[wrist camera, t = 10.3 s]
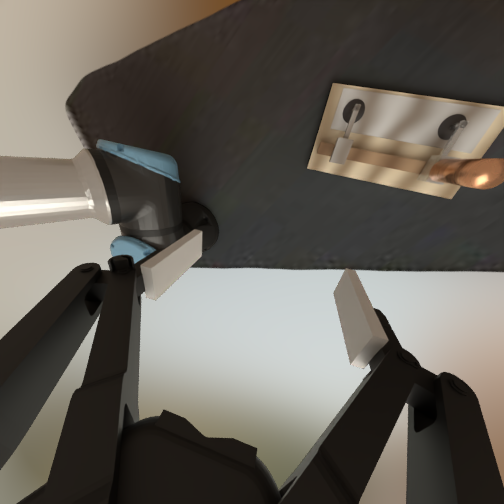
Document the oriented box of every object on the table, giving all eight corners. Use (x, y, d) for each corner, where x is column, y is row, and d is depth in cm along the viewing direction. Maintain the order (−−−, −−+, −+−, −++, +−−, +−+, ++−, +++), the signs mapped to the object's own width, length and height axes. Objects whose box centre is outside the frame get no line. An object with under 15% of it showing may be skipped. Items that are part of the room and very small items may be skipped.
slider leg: (410, 178, 34) (462, 188, 23) (444, 121, 30) (529, 98, 18) (430, 182, 34) (493, 194, 22) (467, 125, 29) (569, 103, 18)
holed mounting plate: (307, 168, 40) (307, 169, 35) (332, 85, 33) (335, 74, 28) (447, 197, 36) (466, 203, 31) (509, 110, 29) (545, 101, 24)
